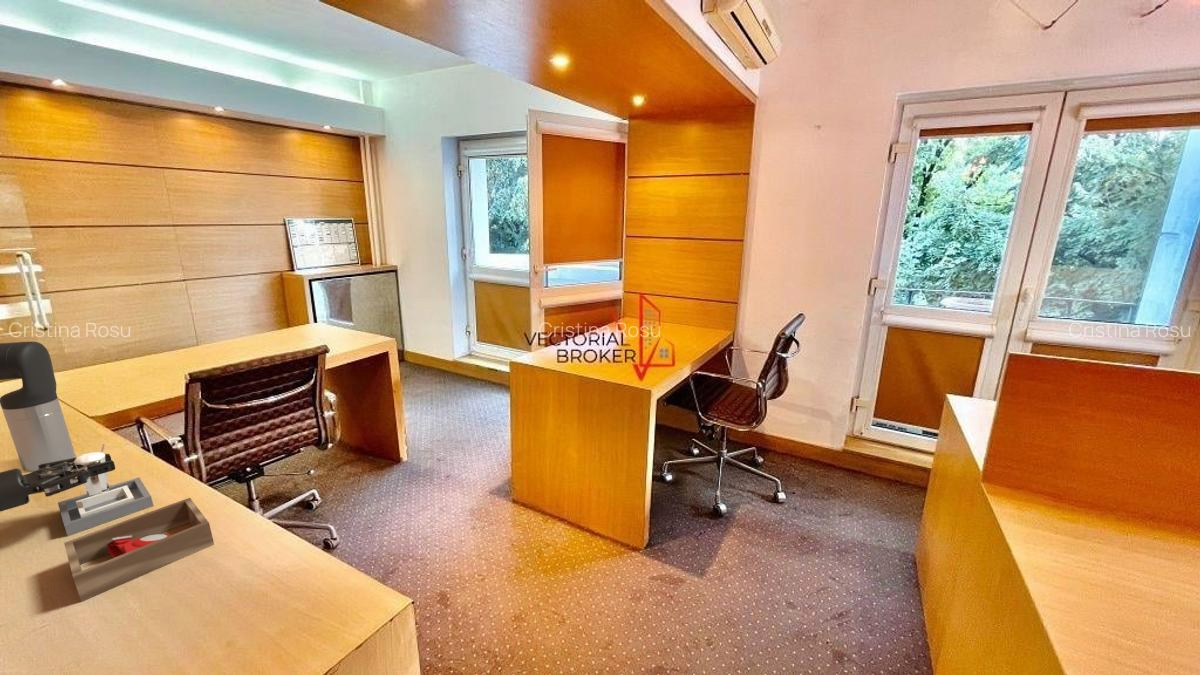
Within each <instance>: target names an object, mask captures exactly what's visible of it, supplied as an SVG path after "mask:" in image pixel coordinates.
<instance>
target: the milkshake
mask: <svg viewBox="0 0 1200 675" xmlns="http://www.w3.org/2000/svg"><path fill="white" fill-rule="evenodd" d="M105 445H106V444H105V443H103V444H102V446H101V451H100V452H99V451H97V452H96V451H95V452H93V451H92V452H88V453H83V454H81V455H79V456H78V457H77V458H76V457H75V458H76V459H75V460H74V464H75V466H76V468H77V469H79V468H83V467H88V466H92V465H95V464H99V463H103V462H106V460H105V454H106V453H104V449H105ZM88 468H89V467H88ZM82 485H83V487H84V489H85V491H86V494H87V495H89V496H93V495H98V494H102V493H104V492H106V491H108V490H109V486H110V483H109V477H108V472H106V473H103V474H99V475H96V476H92V477H91V478H90V479H88V480H87V483H84V484H82Z"/></svg>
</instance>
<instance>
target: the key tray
mask: <svg viewBox="0 0 1200 675" xmlns="http://www.w3.org/2000/svg"><path fill="white" fill-rule="evenodd" d="M188 523H190V524H191V525H192V526H191V527H189V528H186V529H183V530H181V531H178V532H176V533H172V534H169V535H170V536H168V537H165V538H163V539H160V540H158V541H155V542H153V543H150V544H148V545H145V546H143V547H140V548H138V549H135V550H133V551H130V552H128V553H125V554H123V555H120V556H118V557H115V558H113V557H112V558H111V559H109V560H106V561H103V562H99V563H97V564H96V565H93V566H90V567H87V568H86V569H82V566H81V565H83V564H86V563H88V562H91V561H94V560H95V559H98V558H101V557H104V556H106V555H110V553H109V551H108V545H104V544H105V543H106V542H108V541H109V540H111V539H112V538H116V537H122V536H132V537H131V538H130V539H129V540H134V539H137V538H140V537H143V536H147V535H151V534H164V533H165V532H168V531H170V530H173V529H175V528H178V527H181V526H182V525H183V526H184V525H185V524H188ZM211 529H212V528H211V525H210V522H209V521H208V519H207V518H206V517H205V515H204V514H203V512H201V509H199V507H198V506H197V505H196V503H195V502H194V501H193V500H192V498H191V497H188V498H184V499H183V500H179V501H177V502H174V503H171V504H168V505H165V506H163V507H160V508H157V509H154V510H152V511H149V512H146V513H143V514H140V515H138V516H135V517H132V518H128V519H127V520H123V521H121V522H118V523H115V524H113V525H109V526H107V527H104V528H102V529H98V530H95V531H93V532H90V533H87V534H84V535H82V536H81V535H80V536H79V537H76V538H73V539H70V540H67V541H65V542H63V545H64V549H65V553H66V556H67V559H68V564H69V567H70V571H71V574H72V578H73V581H74V584H75V587H76V590H77V593H78V596H79V599H80V602H84V601H86V600H90V599H91V598H93V597H96V596H99V595H101V594H103V593H105V592H107V591H110V590H112V589H115V588H116V587H119V586H122V585H124V584H125V583H127V582H128V583H129V582H130V581H133V580H135V579H137V578H140V577H143V576H144V575H146V574H149V573H151V572H154V571H155V570H158V569H160V568H162V567H164V566H167V565H169V564H171V563H174V562H176V561H179V560H182V559H184V558H185V557H188V556H191V555H192V554H195V553H197V552H200V551H202V550H204V549H206V548H210V547H211V546H213V545H215V541H214V538H213V537H214V536H213V535H212V534H213V533H212V530H211Z"/></svg>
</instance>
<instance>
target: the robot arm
mask: <svg viewBox="0 0 1200 675" xmlns="http://www.w3.org/2000/svg"><path fill="white" fill-rule="evenodd" d="M17 379H21V382H22V387H20V388H19V389H16V390H13V391H10V392H8V393H5V394H3V395H1V396H0V407H1V410H2V413H3V415H4V418H5V421H6V424H7V427H8V430H9V433H10V436H11V438H12V442H13V445H14V447H15V448H14V449H15V450H16V451H15V452H16V453H17V457H18V459H19V463H20V465H21V468H22V470H23V471H25V472H28V473H26V474H23V473H22V470H21V469H20V468H11V469H7V470H4V471H0V512H4V511H7V510H11V509H14V508H18V507H21V506H25V505H27V504H29V503H30V500H31V499H30V495H35V494H40V493H44V495H45V497H51V496H54V495H56V494H59V493H62V492H65V491H68V490H70V489H73V488H76V487H79V486H81V485H83V484H84V483H87V480H88V479H90V478H91V477H92V476H96V475H99V474H103V473H106V472H107V473H110V472H113V471H115V469H116V466H115V462H114V461H113V459H112V457H111V455H110V453H104V454H105V460H106V462H103V463H99V464H95V465H92V466H88V467H89V468H88V467H83V468H79V469H77V468H76V466H75V464H74V460H75V459H76V458H77V457H76V453H75V450H74V445H73V442H72V440H71V435H70V433H69V430H68V426H67V423H66V419H65V416H64V414H63V410H62V407H61V403H60V401H59V397H58V394H57V380H56V376H55V373H54V368H53V363H52V358H51V356H50V352H49V351H48V349H47V348H46V346H45V345H44V344H42V343H41V342H38V341H18V342H17V341H16V342H2V343H0V381H6V380H17Z"/></svg>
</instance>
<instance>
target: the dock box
mask: <svg viewBox="0 0 1200 675" xmlns="http://www.w3.org/2000/svg"><path fill="white" fill-rule="evenodd" d="M57 505H58V509H59V513H60V515H61V519H62V523H63V527H64V528H65V533H66V536H67V537H69V536H72V535H74V534H77V533H81V532H83V531H86V530H89V529H91V528H95V527H98V526H100V525H103V524H106V523H108V522H112V521H115V520H117V519H120V518H123V517H125V516H128V515H131V514H134V513H137V512H140V511H143V510H147V509H148V508H152V507H154V502H153V499H152V495H151V494H150V492H149V491H148V489H147V487H146V486H145V484H144V482H143V480H141V478H140V477H136V478H133V479H129V480H125V481H123V482H120V483H119V482H118V483H117V484H114V485H111V486H110V485H109V490H108V491H106V492H104V493H102V494H98V495H93V496H89V495H87V493H85V494H81V495H78V496H73V497H71V498H68V499H65V500H62V501H61V500H60V501H58V502H57Z"/></svg>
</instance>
